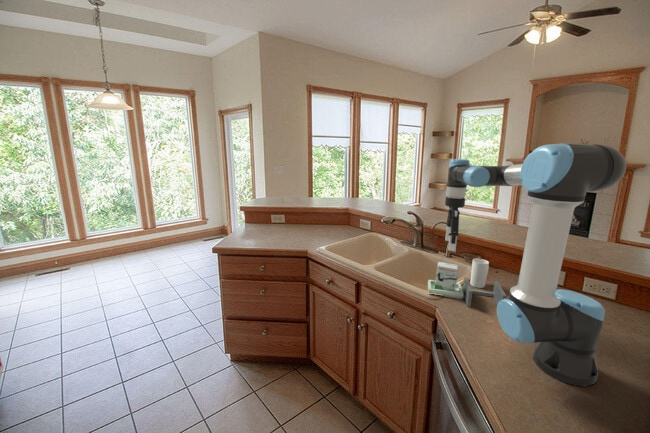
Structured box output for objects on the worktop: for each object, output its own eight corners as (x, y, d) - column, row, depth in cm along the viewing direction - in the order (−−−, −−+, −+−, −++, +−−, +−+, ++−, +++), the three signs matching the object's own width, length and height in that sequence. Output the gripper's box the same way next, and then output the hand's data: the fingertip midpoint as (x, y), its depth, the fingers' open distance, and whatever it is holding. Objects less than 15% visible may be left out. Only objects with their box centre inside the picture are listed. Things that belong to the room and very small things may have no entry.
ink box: (433, 290, 135) (436, 265, 132) (435, 285, 139) (437, 261, 136) (455, 294, 131) (458, 268, 129) (455, 289, 136) (458, 264, 133)
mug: (479, 289, 138) (482, 265, 135) (466, 283, 144) (469, 260, 141) (492, 284, 143) (496, 261, 140) (479, 279, 149) (483, 256, 146)
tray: (462, 299, 129) (463, 293, 129) (428, 294, 133) (429, 289, 132) (459, 288, 139) (460, 283, 138) (427, 284, 142) (428, 279, 142)
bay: (503, 311, 120) (506, 295, 118) (467, 306, 123) (469, 290, 122) (495, 296, 132) (497, 281, 131) (462, 291, 136) (464, 277, 134)
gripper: (470, 202, 113) (463, 256, 118) (461, 193, 136) (455, 238, 141) (448, 201, 115) (443, 254, 120) (443, 192, 138) (438, 236, 143)
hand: (450, 245), depth 130 cm, fingers open, 13 cm apart
